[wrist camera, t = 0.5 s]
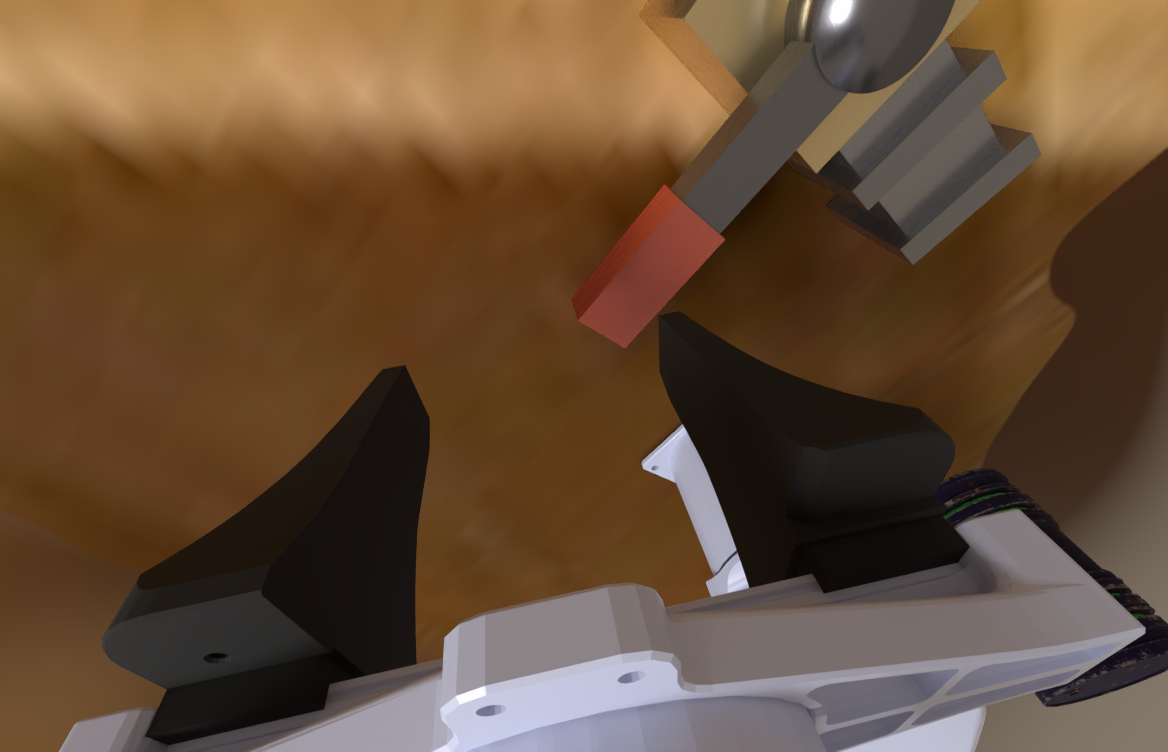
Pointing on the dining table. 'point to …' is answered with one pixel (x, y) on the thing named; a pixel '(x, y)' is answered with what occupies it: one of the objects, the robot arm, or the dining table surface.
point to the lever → (755, 148)
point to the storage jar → (1135, 660)
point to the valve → (869, 122)
